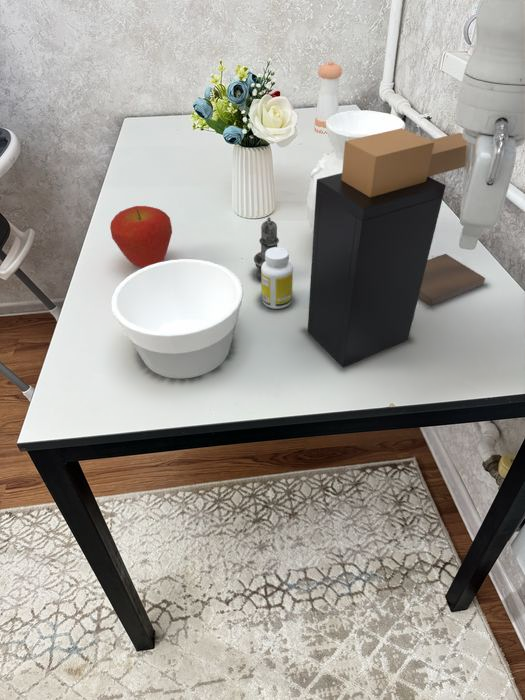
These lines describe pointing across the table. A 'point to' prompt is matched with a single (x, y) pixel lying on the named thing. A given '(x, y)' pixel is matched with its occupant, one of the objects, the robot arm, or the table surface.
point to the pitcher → (338, 132)
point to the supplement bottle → (277, 278)
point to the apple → (142, 234)
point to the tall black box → (368, 265)
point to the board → (447, 279)
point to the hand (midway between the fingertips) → (467, 227)
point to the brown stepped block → (399, 160)
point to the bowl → (179, 315)
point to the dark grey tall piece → (266, 243)
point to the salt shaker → (327, 93)
